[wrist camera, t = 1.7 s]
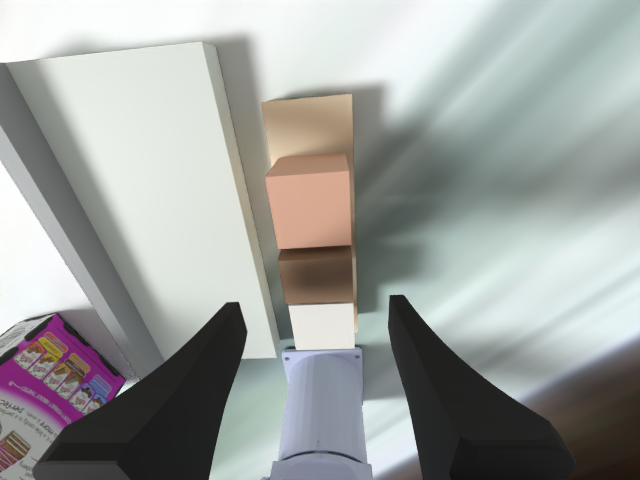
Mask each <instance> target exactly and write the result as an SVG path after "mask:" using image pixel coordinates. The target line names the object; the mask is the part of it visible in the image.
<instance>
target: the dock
mask: <svg viewBox="0 0 640 480" xmlns="http://www.w3.org/2000/svg"><path fill="white" fill-rule="evenodd" d="M0 160H1V162H2V164H3V165H4V167H5V168H6V170H7V172H8V173H9V175H10V176H11V178H12V179H13V181H14V183H15V184H16V186H17V187H18V189H19V190H20V192H21V194H22V195H23V197H24V198H25V200H26V201H27V203H28V205H29V206H30V208H31V209H32V211H33V213H34V214H35V216H36V217H37V219H38V220H39V222H40V224H41V225H42V227H43V228H44V230H45V231H46V233H47V235H48V236H49V238H50V239H51V241H52V242H53V244H54V246H55V247H56V249H57V250H58V252H59V253H60V255H61V257H62V258H63V260H64V261H65V263H66V265H67V266H68V268H69V269H70V271H71V272H72V274H73V276H74V277H75V279H76V280H77V282H78V283H79V285H80V287H81V288H82V290H83V291H84V293H85V294H86V296H87V298H88V299H89V301H90V302H91V304H92V306H93V307H94V309H95V310H96V312H97V313H98V315H99V317H100V318H101V320H102V321H103V323H104V324H105V326H106V328H107V329H108V331H109V332H110V334H111V335H112V337H113V339H114V340H115V342H116V343H117V345H118V347H119V348H120V350H121V351H122V353H123V354H124V356H125V358H126V359H127V361H128V362H129V364H130V365H131V367H132V369H133V370H134V372H135V373H136V375H137V376H138V378H139V380H142V379H143V378H144V377H146V376H147V375H149V374H150V373H151V372H153V371H154V370H155V369H157V368H158V367H159V366H160V365H162V364H163V363H164V361H166V360H168V359H169V358H170V357H171V356H172V355H174V354H175V353H176V352H177V351H178V350H179V349H180V348H181V347H182V346H183V345H185V344H186V343H187V342H188V341H189V340H190V339H191V338H192V337H193V336H194V335H195V334H196V333H197V332H198V331H199V330H200V329H201V328H202V327H203V326H204V325H205V324H206V323H207V322H208V321H209V320H210V319H211V318H212V317H213V316H214V315H215V314H216V313H217V312H218V310H219V309H220V308H221V307H222V306H223V305H224V304H225V303H226V302H239V304H240V307H241V311H242V314H243V318H244V321H245V324H246V328H247V331H248V333H247V338H246V343H245V348H244V352H243V355H242V358H241V359H251V358H277V354H278V349H279V344H280V338H279V333H278V328H277V324H276V319H275V315H274V310H273V306H272V301H271V296H270V292H269V287H268V283H267V278H266V274H265V269H264V265H263V260H262V255H261V251H260V246H259V242H258V237H257V233H256V228H255V223H254V219H253V214H252V210H251V205H250V201H249V196H248V191H247V187H246V182H245V178H244V173H243V169H242V164H241V160H240V155H239V150H238V146H237V141H236V137H235V132H234V128H233V123H232V118H231V114H230V109H229V105H228V100H227V96H226V91H225V87H224V82H223V77H222V73H221V68H220V64H219V59H218V55H217V50H216V46H213V45H210V44H207V43H204V42H192V43H183V44H174V45H165V46H156V47H147V48H138V49H128V50H119V51H110V52H101V53H92V54H83V55H74V56H65V57H55V58H46V59H37V60H28V61H19V62H10V63H0Z"/></svg>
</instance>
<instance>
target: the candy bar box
mask: <svg viewBox="0 0 640 480" xmlns="http://www.w3.org/2000/svg"><path fill="white" fill-rule="evenodd" d="M125 382H126V381H125V379H124V378H123V377H122V376H121V375H120V374H119V373H118V372H117V371H116V370H115V369H114V368H113V367H112V366H111V365H110V364H108V363H107V362H106V361H105V360H104V359H103V358H102V357H101V356H100V355H99V354H98V353H97V352H96V351H95V350H94V349H93V348H92V347H91V346H90V345H89V344H87V343H86V342H85V341H84V340H83V339H82V338H81V337H80V336H79V335H78V334H77V333H76V332H75V331H74V330H73V329H72V328H70V327H69V326H68V325H67V324H66V323H65V322H64V321H63V320H62V319H61V318H60V317H59V316H58V315H56V314H49V315H45V316H42V317H38V318H33V319H28V320H25V321H21V322H18V323H17V324H15V325H14V326H13V327H11V328H10V329H9V330H7V331H6V332H5V333H3V334H2V335H1V336H0V480H35V479H34V477H33V475H32V470H33V467H34V466H35V464H36V463H37V462H38V460H39V459H40V458H41V457H42V455H43V454H44V453H45V451H46V450H47V449H48V447H49V446H50V445H51V444H52V442H53V441H54V440H55V438H56V437H57V436H58V435H59V433H60V432H61V431H62V430H63V428H64V427H65V426H67V425H69V424H71V423H73V422H74V421H76V420H78V419H80V418H81V417H83V416H85V415H87V414H89V413H90V412H92V411H94V410H96V409H97V408H99V407H101V406H102V405H104V404H106V403H107V402H109V401H110V400H112V399H114V398H115V397H116V395H117V394H118V392H119V391H120V389H121V388H122V386H123V385H124V384H125Z"/></svg>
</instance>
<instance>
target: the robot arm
mask: <svg viewBox="0 0 640 480" xmlns="http://www.w3.org/2000/svg"><path fill="white" fill-rule="evenodd" d="M388 329H389V335H390V341H391V346H392V350H393V354H394V357H395V360H396V364H397V367H398V370H399V374H400V377H401V380H402V384H403V387H404V390H405V394H406V397H407V401H408V405H409V410H410V415H411V419H412V424H413V429H414V434H415V440H416V445H417V450H418V455H419V461H420V466H421V472H422V477H423V480H566V479H567V478H568V476H569V475H570V474H571V472H572V471H573V469H574V467H575V464H576V462H575V457H574V455H573V454H572V452H571V451H570V449H569V448H568V446H567V445H566V443H565V442H564V440H563V439H562V437H561V436H560V435H559V433H558V432H557V431H556V430H555V428H554V427H553V426H552V424H551V423H550V422H549V421H548V420H546V419H545V418H543V417H542V416H540V415H538V414H537V413H535V412H533V411H532V410H530V409H529V408H527V407H525V406H524V405H522V404H520V403H519V402H517V401H516V400H514V399H513V398H511V397H510V396H508V395H507V394H506V393H504V392H503V391H501V390H500V389H498V388H497V387H496V386H494V385H493V384H492V383H490V382H489V381H488V380H486V379H485V378H484V377H482V376H481V375H480V374H478V373H477V372H476V371H475V370H473V369H472V368H471V367H470V366H469V365H468V364H466V363H465V362H464V361H463V360H462V359H461V358H460V357H458V356H457V355H456V354H455V353H454V352H453V351H452V350H451V349H450V348H449V347H448V346H447V345H446V344H445V343H444V342H443V341H442V340H441V339H440V338H439V337H438V336H437V335H436V334H435V333H434V332H433V331H432V329H431V328H430V327H429V326H428V325H427V324H426V323H425V321H424V320H423V319H422V318H421V317H420V315H419V314H418V313H417V312H416V310H415V309H414V308H413V307H412V305H411V304H410V303H409V301H408V300H407V298H406V297H405V296H404V295H390V300H389V319H388ZM247 333H248V331H247V328H246V324H245V321H244V318H243V314H242V311H241V307H240V304H239V302H226V303H225V304H224V305H223V306H222V307H221V308H220V309H219V310H218V312H217V313H216V314H215V315H214V316H213V317H212V318H211V319H210V320H209V321H208V322H207V323H206V324H205V325H204V326H203V327H202V328H201V329H200V330H199V331H198V332H197V333H196V334H195V335H194V336H193V337H192V338H191V339H190V340H189V341H188V342H187V343H186V344H185V345H183V346H182V347H181V348H180V349H179V350H178V351H177V352H176V353H175V354H174V355H172V356H171V357H170V358H169V359H168V360H166V361H165V362H164V363H163V364H162V365H160V366H159V367H158V368H157V369H155V370H154V371H153V372H151V373H150V374H149V375H147V376H146V377H144V378H143V379H142V380H140V381H139V382H137V383H136V384H135V385H133V386H132V387H130V388H129V389H127V390H126V391H124V392H123V393H121V394H120V395H118V396H117V397H115V398H114V399H112V400H110V401H109V402H107V403H106V404H104V405H102V406H101V407H99V408H97V409H96V410H94V411H92V412H90V413H89V414H87V415H85V416H83V417H81V418H80V419H78V420H76V421H74V422H73V423H71V424H69V425H67V426H65V427H64V428H63V430H62V431H61V432H60V433H59V435H58V436H57V437H56V438H55V440H54V441H53V442H52V444H51V445H50V446H49V447H48V449H47V450H46V451H45V453H44V454H43V455H42V457H41V458H40V459H39V460H38V462H37V463H36V464H35V466H34V467H33V470H32V475H33V477H34V479H35V480H209V475H210V470H211V465H212V460H213V455H214V451H215V446H216V442H217V437H218V433H219V429H220V424H221V420H222V416H223V412H224V408H225V405H226V402H227V398H228V396H229V393H230V390H231V387H232V384H233V381H234V378H235V376H236V373H237V370H238V367H239V364H240V361H241V358H242V355H243V352H244V348H245V343H246V338H247ZM282 360H283V364H284V369H285V373H286V377H287V382H288V391H287V398H286V405H285V412H284V419H283V427H282V434H281V441H280V448H279V455H278V461H274V462H273V463H272V469H271V476H270V477H263V478H262V479H261V480H373V476H372V467H371V464H367V454H366V444H365V434H364V424H363V413H362V405H363V363H362V349H361V348H359V347H355V349H318V350H296V349H285V350H283V351H282Z"/></svg>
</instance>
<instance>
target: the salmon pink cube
mask: <svg viewBox="0 0 640 480" xmlns="http://www.w3.org/2000/svg"><path fill="white" fill-rule="evenodd" d="M265 181H266V187H267V192H268V197H269V203H270V208H271V214H272V219H273V225H274V230H275V235H276V241H277V246H278V249H289V248H307V247H325V246H342V245H352V242H351V213H350V184H349V168H348V164H347V159H346V155H345V153H335V154H323V155H310V156H298V157H285V158H278V159H277V161H276V162H275V164H274V165H273V166H272V168H271V169H270V171H269V172H268V173H267V175H266V176H265Z"/></svg>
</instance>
